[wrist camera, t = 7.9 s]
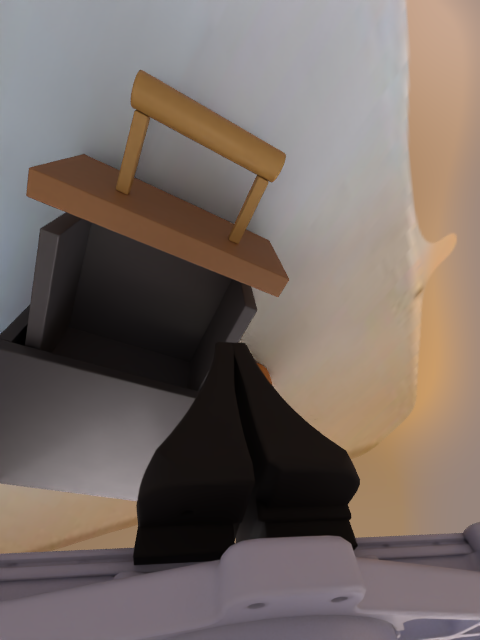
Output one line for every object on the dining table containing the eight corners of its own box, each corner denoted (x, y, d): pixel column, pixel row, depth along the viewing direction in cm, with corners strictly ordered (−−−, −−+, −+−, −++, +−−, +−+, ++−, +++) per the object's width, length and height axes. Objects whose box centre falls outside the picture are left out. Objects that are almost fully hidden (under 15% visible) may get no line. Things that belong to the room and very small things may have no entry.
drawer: (102, 50, 14) (43, 10, 9) (307, 169, 18) (346, 187, 13) (52, 321, 23) (7, 379, 17) (202, 364, 26) (200, 423, 21)
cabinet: (55, 278, 22) (-12, 345, 15) (222, 334, 26) (227, 406, 19) (34, 397, 28) (-19, 481, 21) (172, 426, 32) (162, 505, 25)
